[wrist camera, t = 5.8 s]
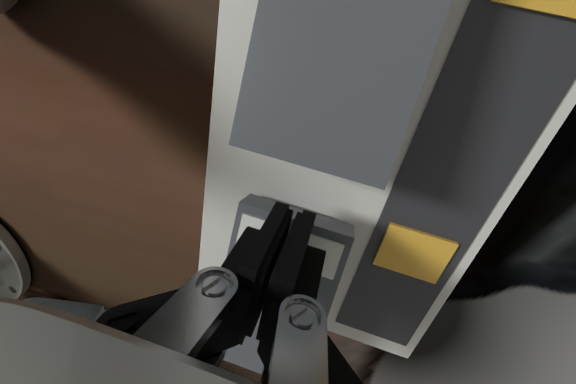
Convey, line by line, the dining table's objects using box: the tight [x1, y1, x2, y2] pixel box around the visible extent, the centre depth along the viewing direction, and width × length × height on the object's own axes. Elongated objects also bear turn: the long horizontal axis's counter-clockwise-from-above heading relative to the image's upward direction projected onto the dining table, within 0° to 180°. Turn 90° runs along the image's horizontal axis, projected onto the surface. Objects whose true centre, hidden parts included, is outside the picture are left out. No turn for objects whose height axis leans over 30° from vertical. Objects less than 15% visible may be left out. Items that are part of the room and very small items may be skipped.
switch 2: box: [223, 193, 355, 374], centre depth 14 cm, size 8×5×2 cm, turn 168°
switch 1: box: [229, 0, 452, 190], centre depth 9 cm, size 8×5×2 cm, turn 168°
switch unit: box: [198, 0, 576, 358], centre depth 12 cm, size 30×13×5 cm, turn 168°
